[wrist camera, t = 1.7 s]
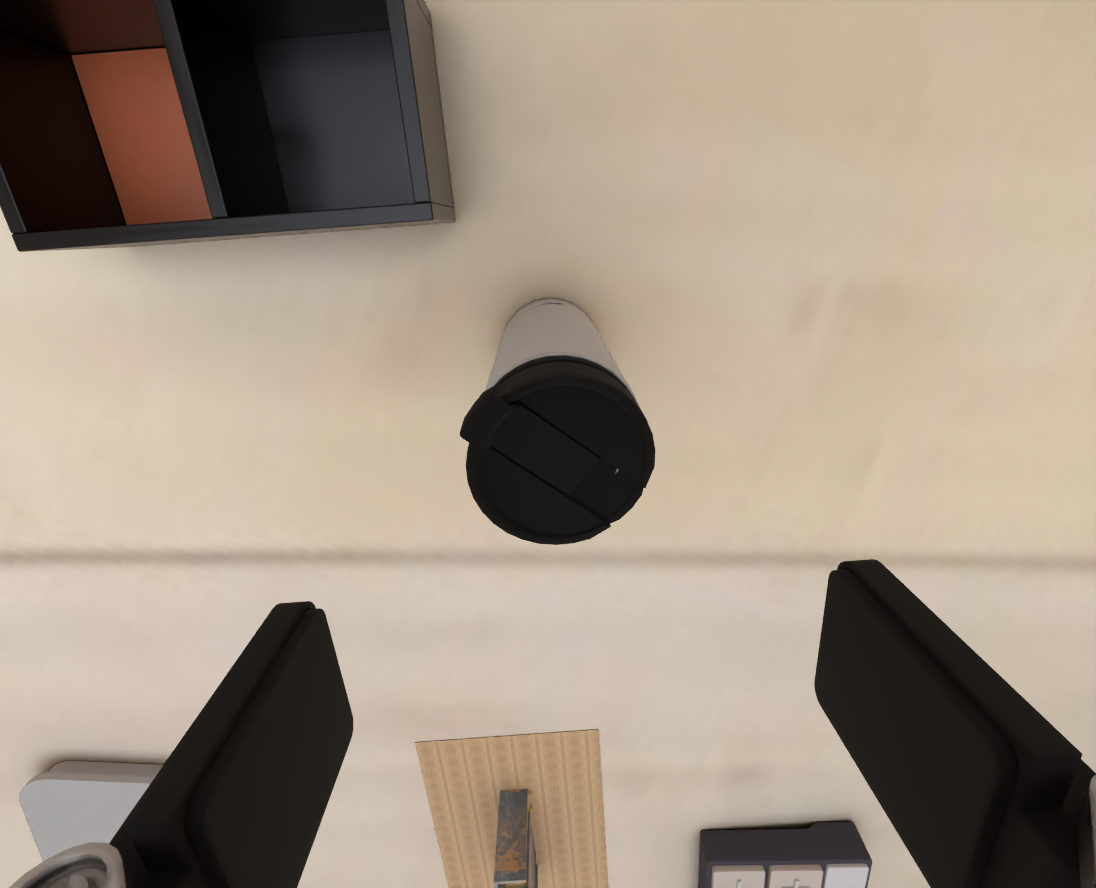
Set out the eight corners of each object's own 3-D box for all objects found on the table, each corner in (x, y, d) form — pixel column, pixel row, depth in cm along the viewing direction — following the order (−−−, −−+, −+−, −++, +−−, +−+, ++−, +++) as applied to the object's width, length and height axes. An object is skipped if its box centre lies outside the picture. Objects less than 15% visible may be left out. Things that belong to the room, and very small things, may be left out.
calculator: (708, 871, 50) (878, 869, 49) (698, 823, 54) (854, 820, 53) (705, 941, 54) (862, 941, 53) (696, 892, 58) (841, 891, 57)
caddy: (59, 41, 29) (-92, -18, 22) (430, 11, 29) (395, -58, 22) (128, 247, 33) (17, 251, 26) (456, 222, 33) (433, 220, 26)
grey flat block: (97, 930, 58) (80, 956, 56) (33, 753, 48) (9, 777, 46) (254, 934, 58) (243, 961, 56) (220, 761, 49) (206, 785, 47)
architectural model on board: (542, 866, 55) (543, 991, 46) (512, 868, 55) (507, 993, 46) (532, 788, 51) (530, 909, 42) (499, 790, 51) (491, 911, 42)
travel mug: (535, 273, 34) (532, 326, 15) (617, 336, 35) (704, 455, 17) (479, 353, 36) (414, 487, 17) (559, 410, 37) (580, 591, 19)
